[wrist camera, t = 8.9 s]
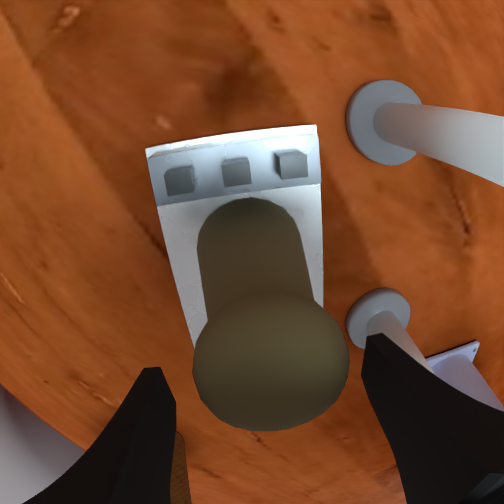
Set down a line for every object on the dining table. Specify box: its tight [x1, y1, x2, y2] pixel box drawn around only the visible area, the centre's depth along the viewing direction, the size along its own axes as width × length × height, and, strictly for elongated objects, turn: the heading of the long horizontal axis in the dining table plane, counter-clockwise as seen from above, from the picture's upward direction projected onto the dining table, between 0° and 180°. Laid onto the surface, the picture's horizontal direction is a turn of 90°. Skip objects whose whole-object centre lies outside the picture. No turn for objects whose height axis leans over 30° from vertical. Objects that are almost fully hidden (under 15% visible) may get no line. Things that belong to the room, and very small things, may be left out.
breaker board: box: [145, 124, 323, 349], centre depth 18 cm, size 14×9×4 cm, turn 7°
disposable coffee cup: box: [170, 432, 192, 504], centre depth 23 cm, size 10×10×12 cm
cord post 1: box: [346, 80, 504, 187], centre depth 12 cm, size 5×5×11 cm
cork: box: [192, 197, 349, 431], centre depth 14 cm, size 6×6×11 cm
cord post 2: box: [346, 288, 435, 374], centre depth 18 cm, size 5×5×11 cm
